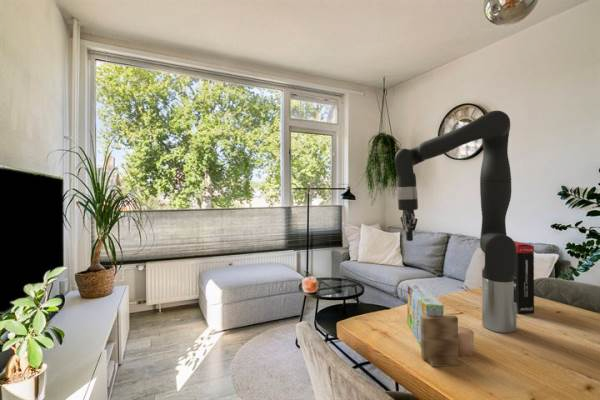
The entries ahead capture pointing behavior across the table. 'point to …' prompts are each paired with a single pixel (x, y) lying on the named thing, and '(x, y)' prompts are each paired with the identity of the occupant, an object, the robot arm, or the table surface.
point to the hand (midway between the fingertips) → (409, 240)
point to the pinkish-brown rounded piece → (465, 341)
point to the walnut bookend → (440, 340)
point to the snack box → (421, 307)
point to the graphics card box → (524, 278)
